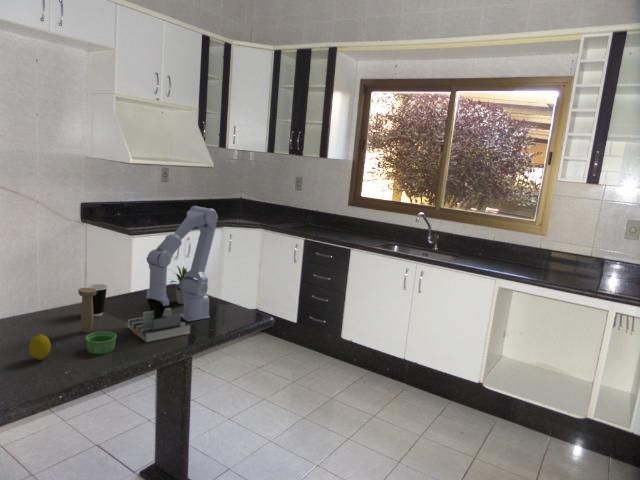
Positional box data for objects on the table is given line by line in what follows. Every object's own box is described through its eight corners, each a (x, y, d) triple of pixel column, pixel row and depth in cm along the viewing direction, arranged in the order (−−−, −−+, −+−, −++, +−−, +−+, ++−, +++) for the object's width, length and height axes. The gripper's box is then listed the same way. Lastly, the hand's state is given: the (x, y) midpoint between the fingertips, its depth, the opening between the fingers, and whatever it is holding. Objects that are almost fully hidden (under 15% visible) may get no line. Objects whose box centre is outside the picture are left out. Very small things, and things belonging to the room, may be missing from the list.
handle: (86, 335, 159) (86, 293, 157) (75, 330, 163) (75, 289, 160) (99, 332, 164) (99, 290, 161) (87, 327, 167) (88, 286, 164)
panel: (169, 323, 175) (169, 307, 174) (171, 324, 174) (171, 309, 173) (142, 327, 168) (143, 311, 167) (144, 329, 167) (145, 313, 166)
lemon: (35, 355, 142) (34, 330, 141) (54, 356, 142) (54, 331, 141) (25, 363, 136) (24, 337, 135) (45, 364, 137) (44, 338, 136)
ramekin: (82, 355, 145) (82, 342, 144) (88, 344, 153) (88, 331, 153) (114, 354, 147) (114, 341, 147) (117, 343, 156) (118, 331, 155)
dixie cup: (80, 316, 176) (80, 288, 174) (91, 310, 184) (91, 283, 182) (100, 318, 176) (101, 290, 174) (111, 312, 184) (111, 285, 182)
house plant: (157, 300, 203) (158, 263, 200) (184, 295, 214) (186, 260, 211) (176, 308, 194) (177, 270, 191) (203, 303, 205) (205, 266, 202)
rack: (169, 320, 181) (170, 302, 180) (189, 333, 169) (190, 315, 168) (127, 327, 170) (127, 309, 169) (145, 342, 158) (146, 322, 157)
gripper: (138, 279, 171) (137, 314, 173) (155, 289, 160) (154, 327, 162) (157, 277, 175) (156, 311, 178) (175, 287, 165) (173, 323, 167)
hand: (156, 319), depth 170 cm, fingers closed on panel, 2 cm apart
